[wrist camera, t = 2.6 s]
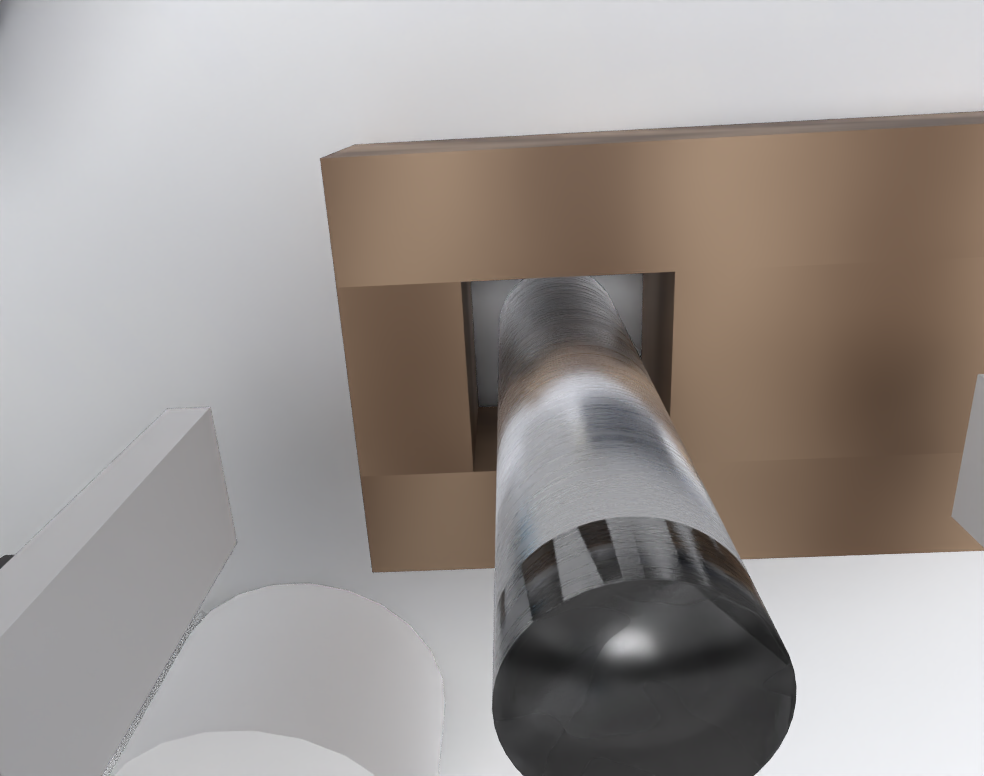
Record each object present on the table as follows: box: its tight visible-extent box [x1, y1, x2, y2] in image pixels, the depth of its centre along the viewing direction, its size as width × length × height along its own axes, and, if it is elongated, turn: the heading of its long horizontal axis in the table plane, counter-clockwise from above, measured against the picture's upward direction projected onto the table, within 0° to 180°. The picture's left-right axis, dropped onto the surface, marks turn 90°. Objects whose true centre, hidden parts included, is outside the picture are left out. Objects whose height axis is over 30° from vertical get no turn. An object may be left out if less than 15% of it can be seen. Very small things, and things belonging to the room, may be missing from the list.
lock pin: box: [492, 276, 796, 776], centre depth 15 cm, size 3×3×14 cm
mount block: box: [320, 111, 984, 572], centre depth 19 cm, size 24×10×4 cm, turn 93°
